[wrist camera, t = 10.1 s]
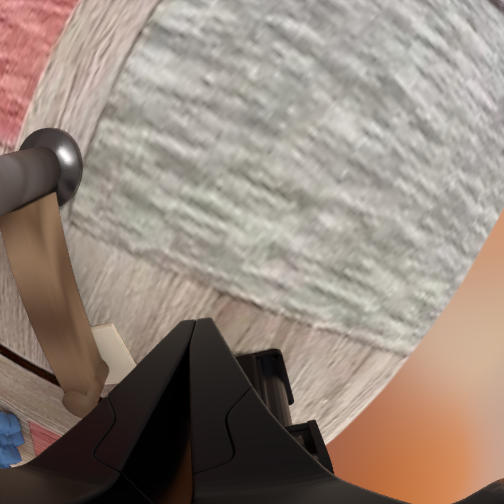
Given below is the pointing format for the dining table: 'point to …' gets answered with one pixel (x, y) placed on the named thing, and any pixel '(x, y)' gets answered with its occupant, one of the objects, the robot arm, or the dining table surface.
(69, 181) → the hinge base
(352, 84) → the dining table surface
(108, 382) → the open pad
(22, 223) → the gate
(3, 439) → the grapes
